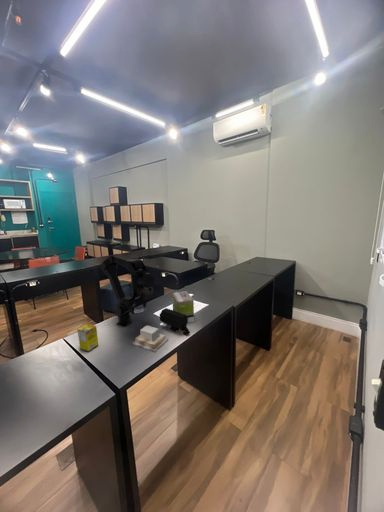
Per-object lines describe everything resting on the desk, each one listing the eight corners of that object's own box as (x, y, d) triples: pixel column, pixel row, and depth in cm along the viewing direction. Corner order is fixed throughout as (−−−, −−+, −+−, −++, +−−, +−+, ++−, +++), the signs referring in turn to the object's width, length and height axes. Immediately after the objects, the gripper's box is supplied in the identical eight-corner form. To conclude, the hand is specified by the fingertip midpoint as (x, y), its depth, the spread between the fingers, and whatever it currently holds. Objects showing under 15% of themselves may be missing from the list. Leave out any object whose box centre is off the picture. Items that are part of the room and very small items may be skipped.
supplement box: (98, 345, 106) (96, 325, 103) (88, 352, 100) (85, 331, 98) (90, 342, 108) (87, 323, 106) (79, 349, 103) (77, 328, 101)
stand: (132, 344, 106) (132, 338, 106) (146, 333, 116) (146, 328, 115) (155, 352, 100) (154, 346, 99) (168, 340, 109) (168, 334, 109)
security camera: (184, 338, 111) (184, 320, 109) (159, 327, 122) (158, 311, 120) (192, 332, 116) (192, 315, 114) (167, 322, 127) (167, 306, 125)
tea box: (172, 314, 138) (171, 292, 135) (187, 311, 140) (187, 290, 137) (178, 325, 123) (177, 301, 120) (194, 322, 126) (194, 299, 123)
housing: (140, 337, 107) (140, 330, 106) (147, 332, 111) (146, 325, 110) (153, 341, 103) (153, 334, 102) (159, 336, 108) (159, 329, 107)
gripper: (136, 291, 101) (138, 321, 104) (159, 280, 117) (161, 306, 120) (119, 287, 106) (121, 316, 109) (144, 277, 122) (145, 303, 126)
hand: (138, 310), depth 116 cm, fingers open, 9 cm apart
